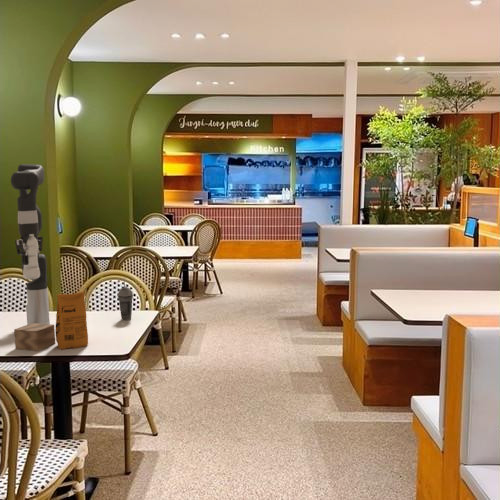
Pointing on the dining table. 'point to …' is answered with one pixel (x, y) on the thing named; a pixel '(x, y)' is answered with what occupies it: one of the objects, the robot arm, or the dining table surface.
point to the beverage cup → (125, 302)
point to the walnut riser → (34, 336)
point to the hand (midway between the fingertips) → (30, 263)
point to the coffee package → (71, 321)
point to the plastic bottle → (31, 259)
